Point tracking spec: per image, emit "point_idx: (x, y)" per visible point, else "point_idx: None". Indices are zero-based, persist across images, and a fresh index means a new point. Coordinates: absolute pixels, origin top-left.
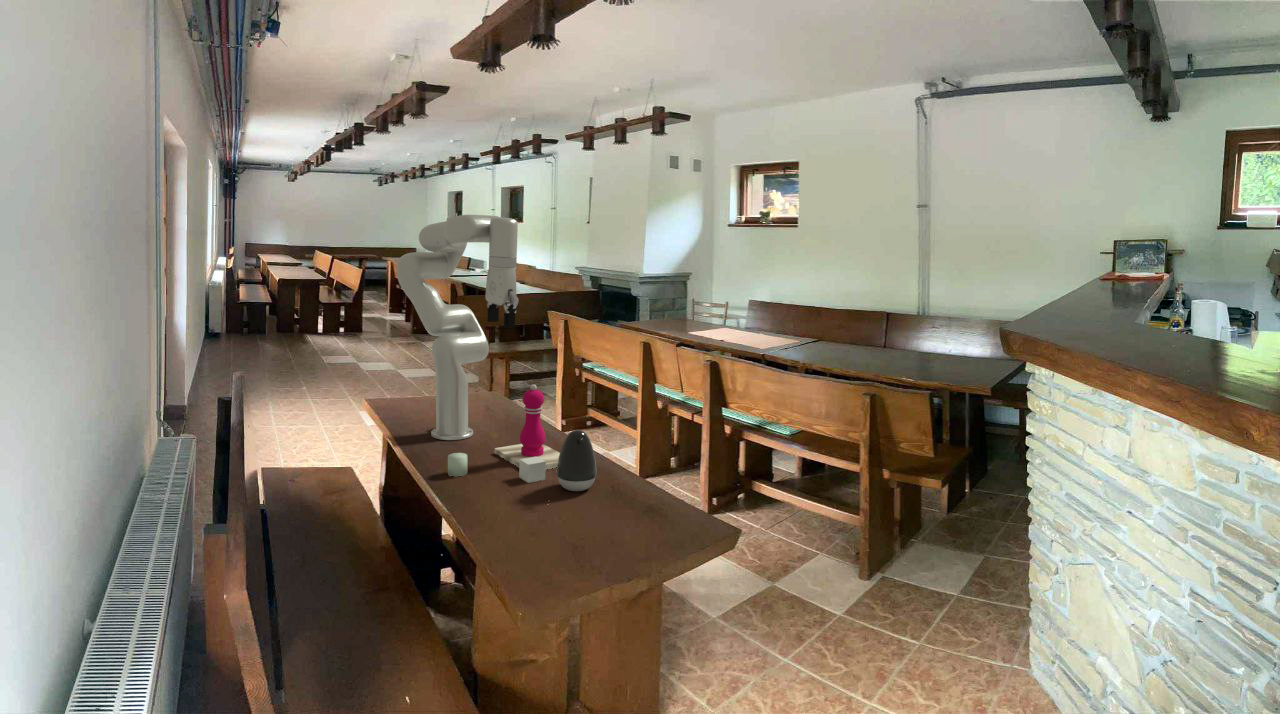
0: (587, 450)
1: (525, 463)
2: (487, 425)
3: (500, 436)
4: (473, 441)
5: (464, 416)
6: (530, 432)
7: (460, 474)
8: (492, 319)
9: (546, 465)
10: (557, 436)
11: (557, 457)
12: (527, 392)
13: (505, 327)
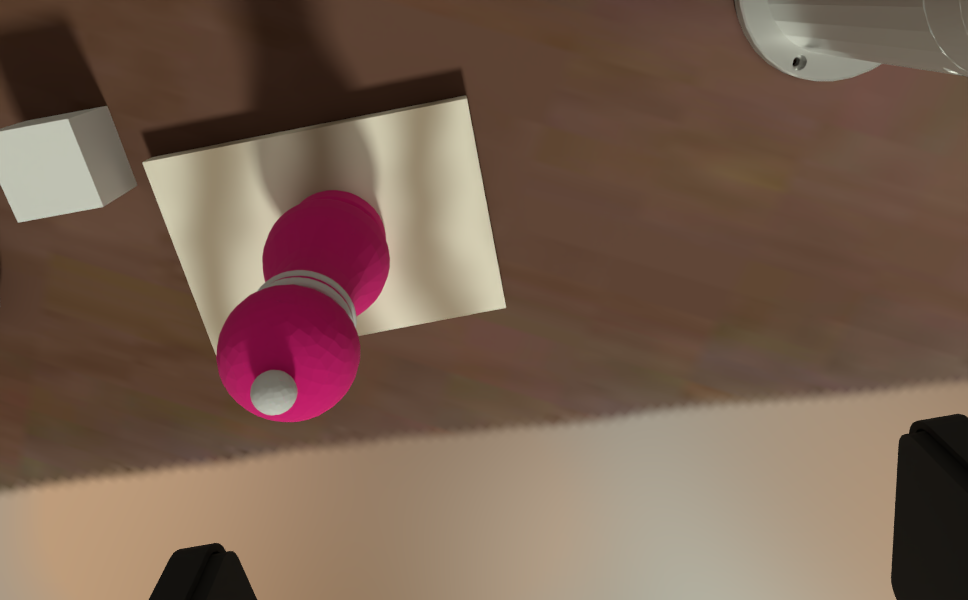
0: None
1: (9, 129)
2: (901, 183)
3: (705, 192)
4: (683, 48)
5: (820, 25)
6: (272, 252)
7: None
8: (922, 522)
9: (176, 246)
10: (603, 408)
11: None
12: (262, 335)
13: (185, 556)
